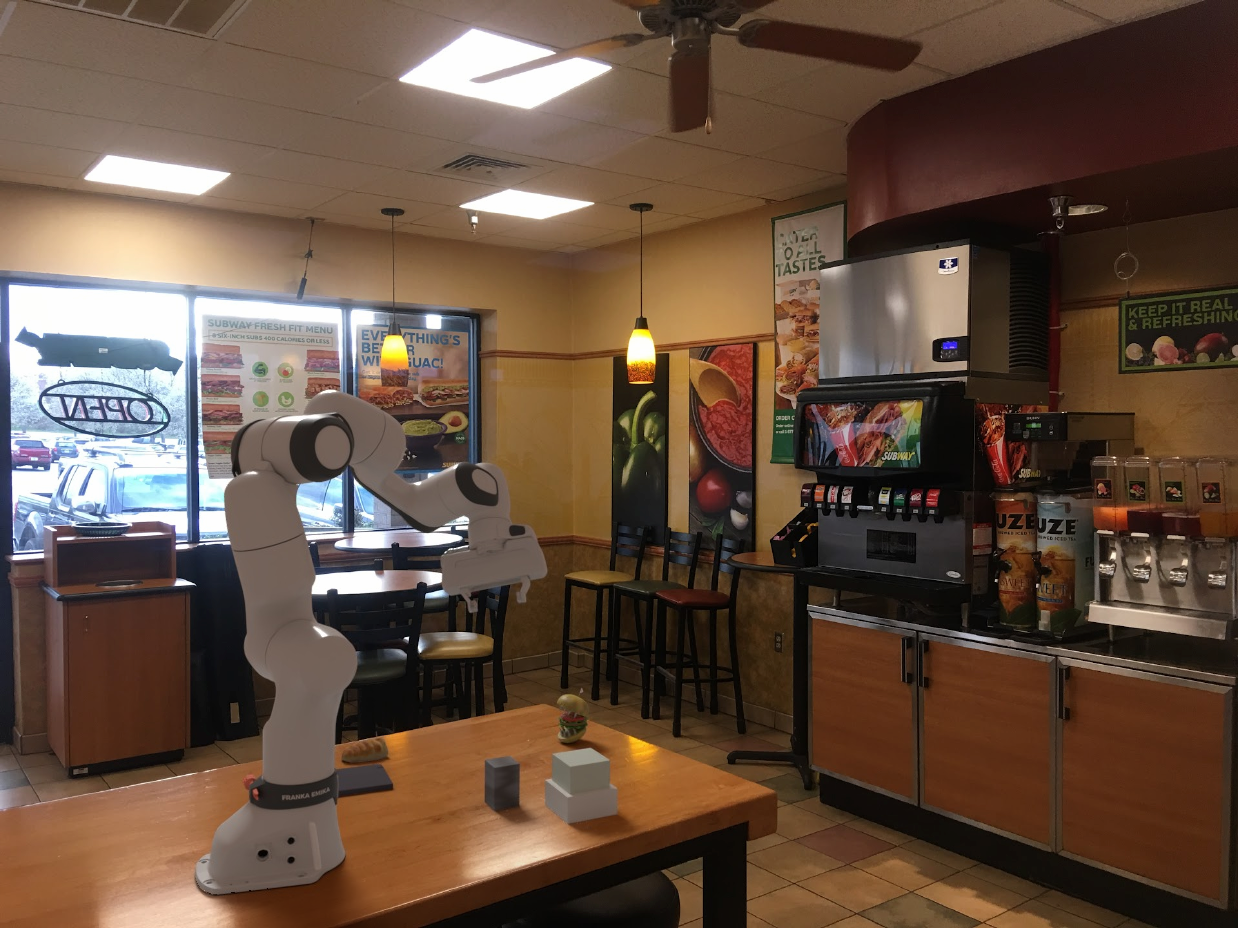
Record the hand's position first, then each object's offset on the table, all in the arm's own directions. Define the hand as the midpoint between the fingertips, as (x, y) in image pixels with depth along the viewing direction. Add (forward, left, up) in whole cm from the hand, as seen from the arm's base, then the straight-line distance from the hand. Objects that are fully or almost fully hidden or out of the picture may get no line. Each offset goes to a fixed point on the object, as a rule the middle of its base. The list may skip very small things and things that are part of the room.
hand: (497, 606), depth 184 cm
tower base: (+12, -12, -37) cm, 41 cm away
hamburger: (+28, +25, -37) cm, 52 cm away
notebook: (-26, +21, -37) cm, 50 cm away
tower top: (+12, -12, -32) cm, 36 cm away
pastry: (-16, +34, -37) cm, 53 cm away
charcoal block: (0, -3, -37) cm, 37 cm away
